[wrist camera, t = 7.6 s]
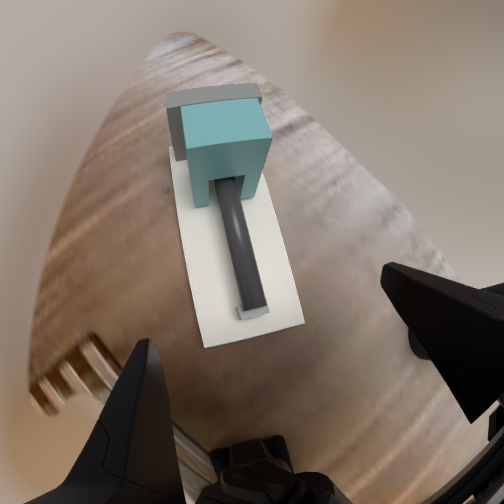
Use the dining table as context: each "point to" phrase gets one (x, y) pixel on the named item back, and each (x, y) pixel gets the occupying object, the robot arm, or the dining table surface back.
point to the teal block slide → (230, 241)
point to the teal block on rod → (225, 145)
